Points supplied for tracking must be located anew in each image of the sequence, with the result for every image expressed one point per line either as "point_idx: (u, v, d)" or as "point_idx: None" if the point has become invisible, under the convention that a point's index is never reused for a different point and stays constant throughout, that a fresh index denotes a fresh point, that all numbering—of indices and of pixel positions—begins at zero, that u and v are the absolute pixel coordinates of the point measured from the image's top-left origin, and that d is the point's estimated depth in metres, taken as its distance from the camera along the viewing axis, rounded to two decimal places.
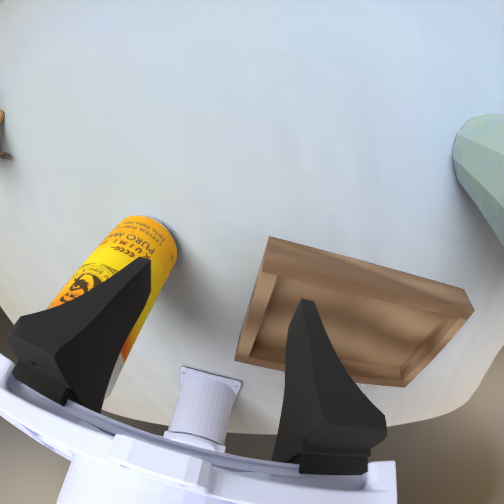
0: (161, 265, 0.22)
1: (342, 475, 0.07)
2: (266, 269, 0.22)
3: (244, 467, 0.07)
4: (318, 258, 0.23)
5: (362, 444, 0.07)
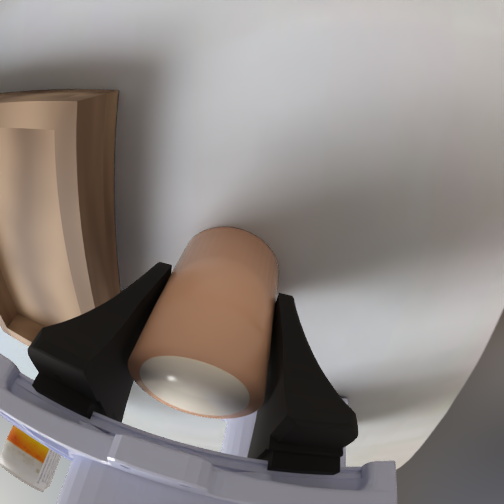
0: None
1: (314, 474, 0.07)
2: (8, 332, 0.19)
3: (244, 467, 0.07)
4: None
5: (332, 443, 0.07)
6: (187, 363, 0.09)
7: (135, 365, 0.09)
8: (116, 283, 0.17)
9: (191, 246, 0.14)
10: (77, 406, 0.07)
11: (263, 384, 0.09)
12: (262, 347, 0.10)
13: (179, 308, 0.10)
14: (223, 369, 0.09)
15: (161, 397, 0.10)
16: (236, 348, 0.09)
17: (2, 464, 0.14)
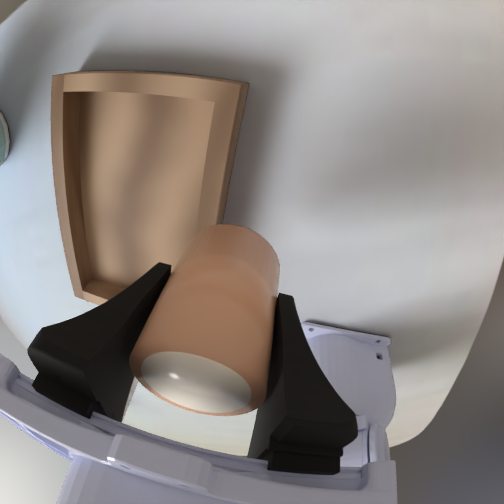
0: None
1: (314, 474, 0.07)
2: (81, 296, 0.25)
3: (244, 467, 0.07)
4: None
5: (332, 443, 0.07)
6: (190, 359, 0.09)
7: (136, 361, 0.09)
8: None
9: (193, 243, 0.14)
10: (77, 406, 0.07)
11: (265, 381, 0.09)
12: (264, 344, 0.10)
13: (182, 304, 0.10)
14: (226, 365, 0.09)
15: (162, 394, 0.10)
16: (239, 344, 0.09)
17: None
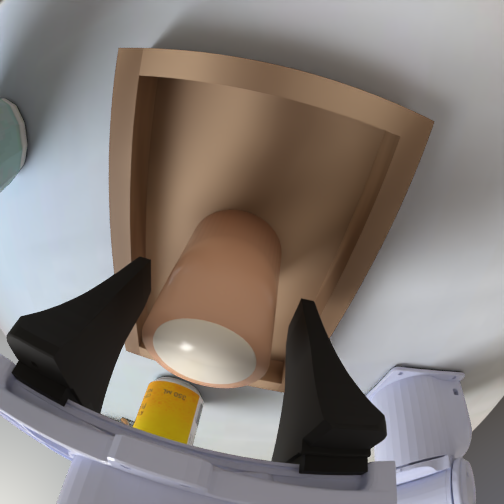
0: (154, 406, 0.24)
1: (343, 475, 0.07)
2: (136, 352, 0.20)
3: (244, 467, 0.07)
4: None
5: (362, 444, 0.07)
6: (201, 325, 0.10)
7: (149, 331, 0.10)
8: None
9: (202, 226, 0.15)
10: (51, 393, 0.07)
11: (269, 349, 0.10)
12: (268, 315, 0.11)
13: (194, 276, 0.11)
14: (234, 331, 0.10)
15: (171, 365, 0.11)
16: (246, 311, 0.10)
17: None
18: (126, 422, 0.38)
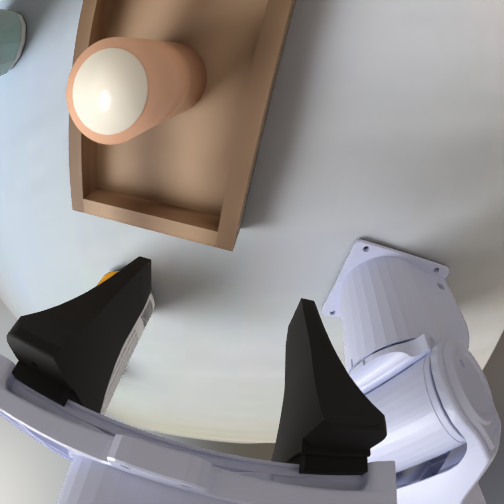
0: None
1: (342, 474, 0.07)
2: (80, 208, 0.20)
3: (244, 467, 0.07)
4: None
5: (362, 444, 0.07)
6: (106, 51, 0.09)
7: (72, 80, 0.10)
8: None
9: None
10: (51, 393, 0.07)
11: (159, 70, 0.10)
12: (166, 58, 0.11)
13: None
14: (129, 52, 0.09)
15: (83, 119, 0.11)
16: (143, 42, 0.10)
17: None
18: None
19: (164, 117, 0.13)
